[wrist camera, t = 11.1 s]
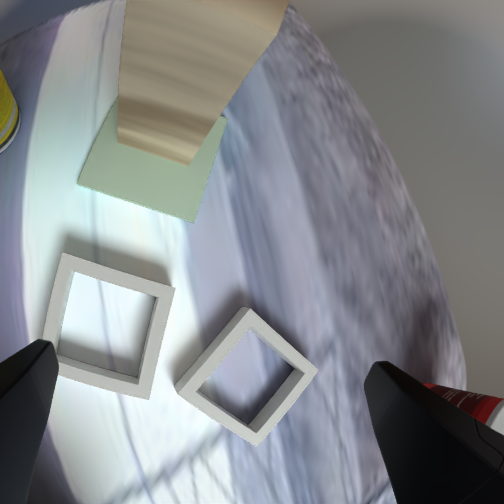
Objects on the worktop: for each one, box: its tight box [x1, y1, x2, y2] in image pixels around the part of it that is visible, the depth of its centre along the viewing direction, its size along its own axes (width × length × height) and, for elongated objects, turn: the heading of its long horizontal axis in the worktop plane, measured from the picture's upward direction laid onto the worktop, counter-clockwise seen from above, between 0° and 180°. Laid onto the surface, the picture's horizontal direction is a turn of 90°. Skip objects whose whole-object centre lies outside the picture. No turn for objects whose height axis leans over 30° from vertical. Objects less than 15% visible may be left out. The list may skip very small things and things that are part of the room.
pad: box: [77, 97, 228, 223], centre depth 20 cm, size 8×8×1 cm
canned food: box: [422, 383, 504, 435], centre depth 22 cm, size 8×8×11 cm
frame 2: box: [174, 307, 319, 446], centre depth 20 cm, size 7×7×2 cm
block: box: [118, 0, 290, 167], centre depth 14 cm, size 5×5×13 cm
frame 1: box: [42, 252, 175, 400], centre depth 17 cm, size 7×7×2 cm
